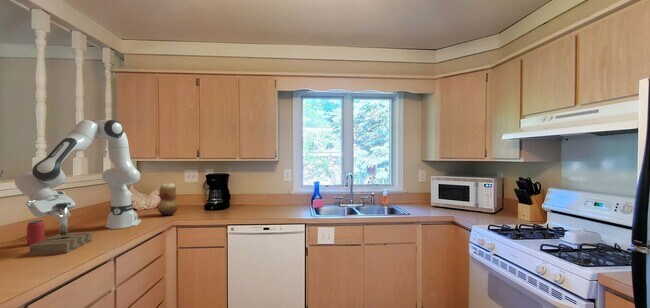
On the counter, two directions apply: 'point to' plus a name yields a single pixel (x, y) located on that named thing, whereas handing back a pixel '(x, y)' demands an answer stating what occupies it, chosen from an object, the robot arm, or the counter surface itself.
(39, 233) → the beer can
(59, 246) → the brown flat block
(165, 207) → the butternut squash
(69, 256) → the counter surface
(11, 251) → the counter surface
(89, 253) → the counter surface
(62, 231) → the steel peg
